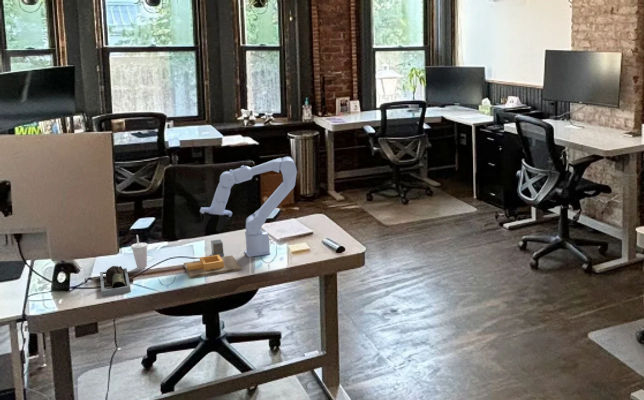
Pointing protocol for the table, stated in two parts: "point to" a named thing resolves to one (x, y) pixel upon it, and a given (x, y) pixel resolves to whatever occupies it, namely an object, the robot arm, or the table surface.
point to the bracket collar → (207, 263)
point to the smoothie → (140, 254)
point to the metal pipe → (115, 276)
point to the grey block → (217, 247)
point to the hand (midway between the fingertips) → (210, 230)
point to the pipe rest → (115, 290)
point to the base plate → (229, 266)
